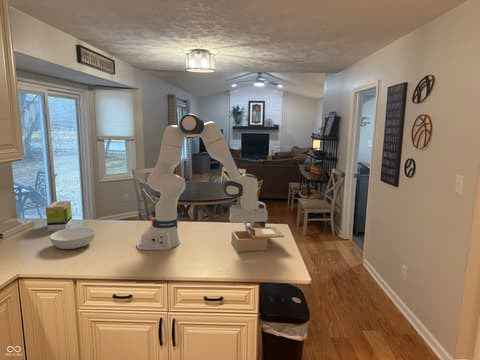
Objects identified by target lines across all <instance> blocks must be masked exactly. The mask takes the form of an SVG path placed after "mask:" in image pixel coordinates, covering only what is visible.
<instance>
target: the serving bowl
mask: <svg viewBox="0 0 480 360" xmlns="http://www.w3.org/2000/svg"><path fill="white" fill-rule="evenodd" d="M95 237H96V230H95V228H93V227H88V226H87V227H85V226H84V227H83V226H80V227H79V226H77V227H68V228H67V229H64V230H59V231H54V232H53V233H52V234H50V236H49V239H50V242H51V244H52V245H53V246H54V247H56V248H58V249H61V250H62V249H63V250H74V249H79V248H82V247H84V246H87V245H90V243H91V242H93V240H94V239H95Z"/></svg>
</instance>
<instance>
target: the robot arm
mask: <svg viewBox="0 0 480 360" xmlns="http://www.w3.org/2000/svg"><path fill="white" fill-rule="evenodd" d="M196 137H200V138H201V140H202V142H203V144H204V146H205V150H206V151H207V154H208V155H209V156H210V158H212V160H216V161H218V162H220V163H221V164H222V165H223V166H224V168H225V171H226V173H227V175H228V177H229V180H227V181H225V182H224V183H223V186H222V192H223V194H224V195H225V196H226V197H227V198H234V199H235V198H240V204H233V205H230V206H229V217H228V218H229V219H228V220H229V222H230V223H231V224H237V223H238V224H239V223H241V224H242V223H243V225H244V230H251V227H252V225H253V222H261V221H265V222H267V221H268V210H267V205H266V204H265V203H264V202H263V201H259V200H258V193H259V190H258V189H259V182H258V177H257V176H256V175H254V174H252V173H243V174H241V171H240V170H239V168H238V166H237V164H236V162H235V159H234V157H233V156H232V153H231V151H230V149H229V147H228V143H227V141H226V138H225V136H224V133H223V132H222V130H221V128H220V127H219V125H218V124H217V122H215V121H207V122H204V120H202V119H201V118H199V116H198V115H195V114H193V113H186V114H184V115H182V116H181V118H180V119H179V123H178V125H176V124H175V125H173V124H171V125H168V126H167V127H166V128H165V131H164V132H163V136H162V140H161V145H160V150H159V156H158V159H157V163H156V164H155V167H154V169H153V171H151V172H150V173H149V174H148V176H147V178H146V182H147V186H149V187H150V189H152V190H154V191H156V192H159V193H160V194H159V195H160V196H159V199H158V201H157V202H156V203H155V207H154V208H155V209H154V210H155V217H151V219H150V221H151V225H150V226H149V227H148V228H146V229H144V231H143V232H142V234H141V237H140V239H139V240H138V241H137V242H136V248H137V250H140V251H142V250H144V251H145V250H146V251H150V250H151V251H168V250H170V249H172V248H175V247H178V246H179V245H180V243H181V241H180V238H179V234H178V227H179V226H178V225H179V221H178V213H177V212H178V210H177V209H178V201H179V199H180V197H181V195H182V194H183V193H184V192H185V189H186V181H185V179H184V178H183V177H182V176H180V175H178V174H176V173H174V171H175V169H176V167H178V166H179V165H180V163H181V159H182V154H183V146H184V141H185V140H186V139H194V138H196ZM248 223H251V224H249V225H247V224H248Z"/></svg>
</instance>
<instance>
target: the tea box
mask: <svg viewBox="0 0 480 360" xmlns="http://www.w3.org/2000/svg"><path fill="white" fill-rule="evenodd" d="M72 211H73V210H72V201H71V200H64V201H63V200H60V201H53V202H52V203H49V204H48V205H47V206H46V207H45V215H46V227H47V231H48V232H57V231H60V230H64V229H68V228H70V226H71V224H73V214H72V213H73V212H72Z"/></svg>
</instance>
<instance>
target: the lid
mask: <svg viewBox="0 0 480 360" xmlns="http://www.w3.org/2000/svg"><path fill="white" fill-rule="evenodd" d="M246 231H247V232H248V233H249V234H250V236H251V237H252V238H253V239H259V238H268V239H271V238H272V239H275V238H285V234H283V233H282V232H281V231H280V230H278V228H277V227H275V226H265V227H260V228H253V227H251V230H246Z"/></svg>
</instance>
